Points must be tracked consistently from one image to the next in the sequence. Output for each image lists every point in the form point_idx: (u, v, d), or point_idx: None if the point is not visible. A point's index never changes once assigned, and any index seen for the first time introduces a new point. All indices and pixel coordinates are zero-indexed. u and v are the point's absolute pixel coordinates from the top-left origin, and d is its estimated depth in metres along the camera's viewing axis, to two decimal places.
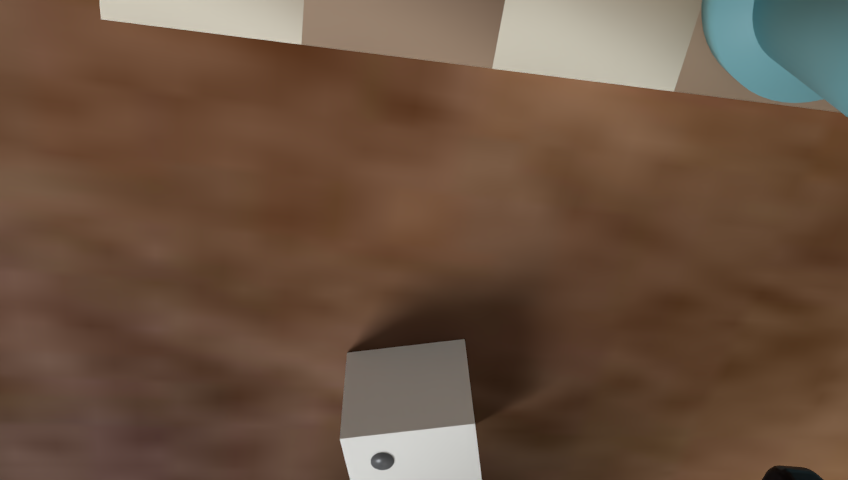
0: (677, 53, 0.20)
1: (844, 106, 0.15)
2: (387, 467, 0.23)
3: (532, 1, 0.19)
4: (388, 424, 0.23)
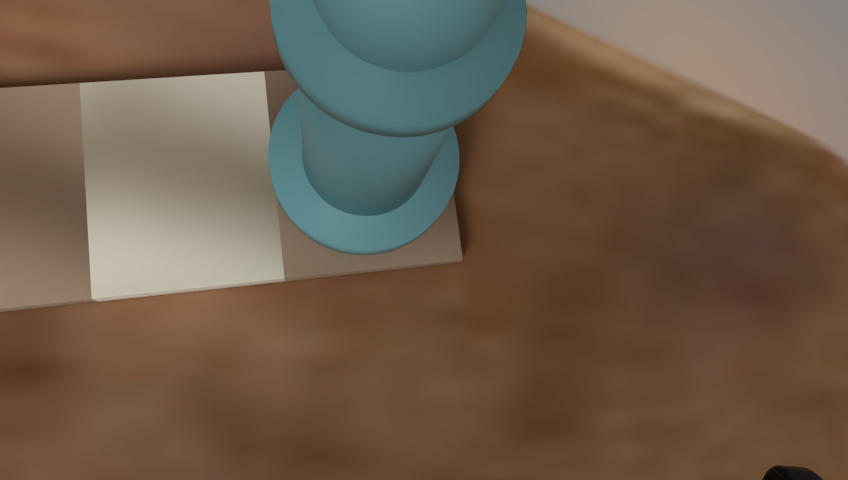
0: (272, 242, 0.21)
1: (326, 152, 0.16)
2: None
3: (114, 227, 0.20)
4: None
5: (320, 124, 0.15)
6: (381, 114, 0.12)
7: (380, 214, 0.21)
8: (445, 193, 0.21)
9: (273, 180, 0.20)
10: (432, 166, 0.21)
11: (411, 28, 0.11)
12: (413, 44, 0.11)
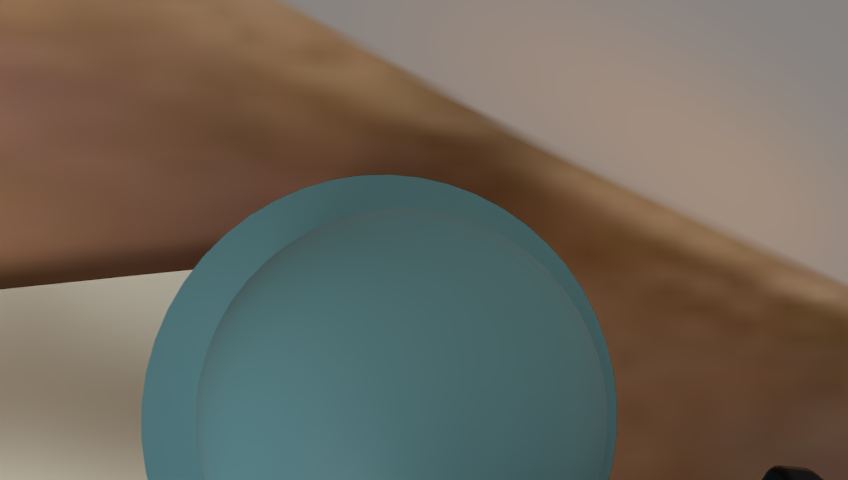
0: None
1: None
2: None
3: None
4: None
5: None
6: None
7: None
8: None
9: None
10: None
11: None
12: None
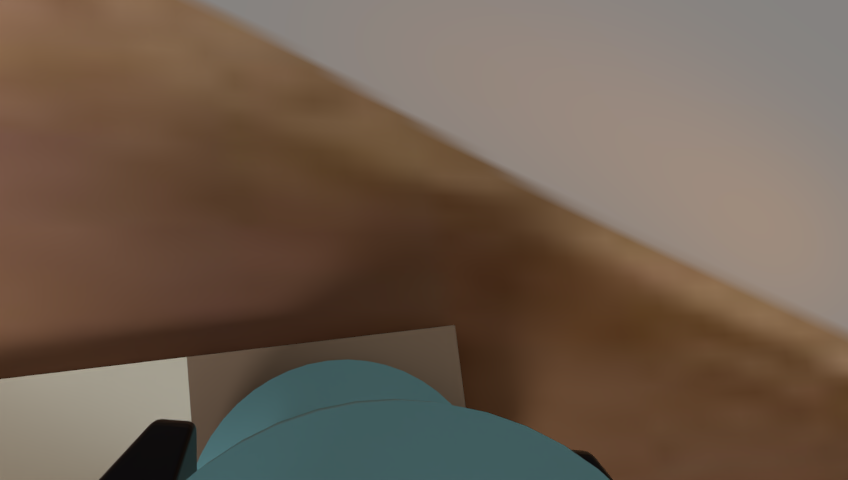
0: None
1: None
2: None
3: None
4: None
5: None
6: None
7: None
8: None
9: None
10: None
11: None
12: None
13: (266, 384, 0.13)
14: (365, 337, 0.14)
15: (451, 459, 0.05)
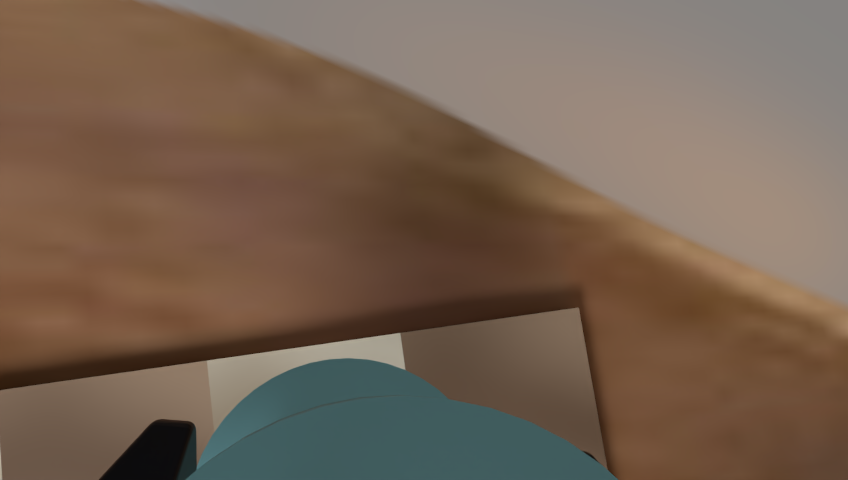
0: None
1: None
2: None
3: None
4: None
5: None
6: None
7: None
8: None
9: None
10: None
11: None
12: None
13: (268, 383, 0.13)
14: (518, 317, 0.21)
15: (455, 454, 0.05)
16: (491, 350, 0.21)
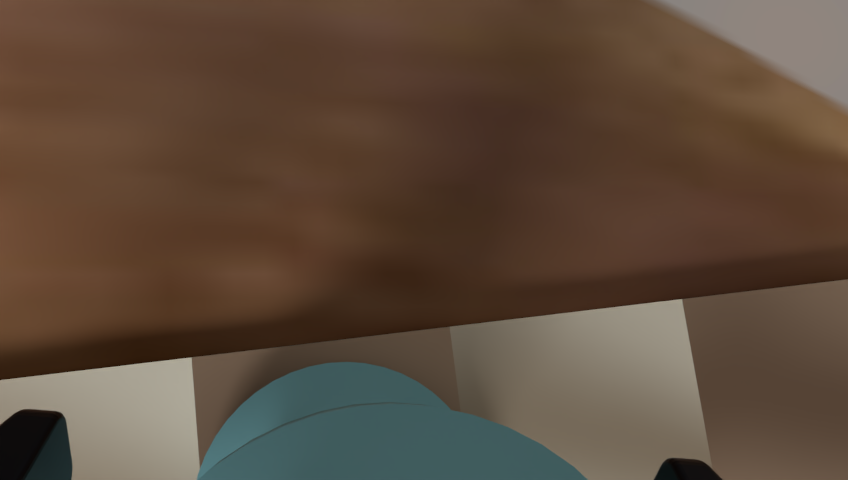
0: None
1: None
2: None
3: None
4: None
5: None
6: None
7: None
8: None
9: None
10: None
11: None
12: None
13: (269, 386, 0.14)
14: (820, 284, 0.17)
15: (440, 456, 0.05)
16: (791, 324, 0.16)
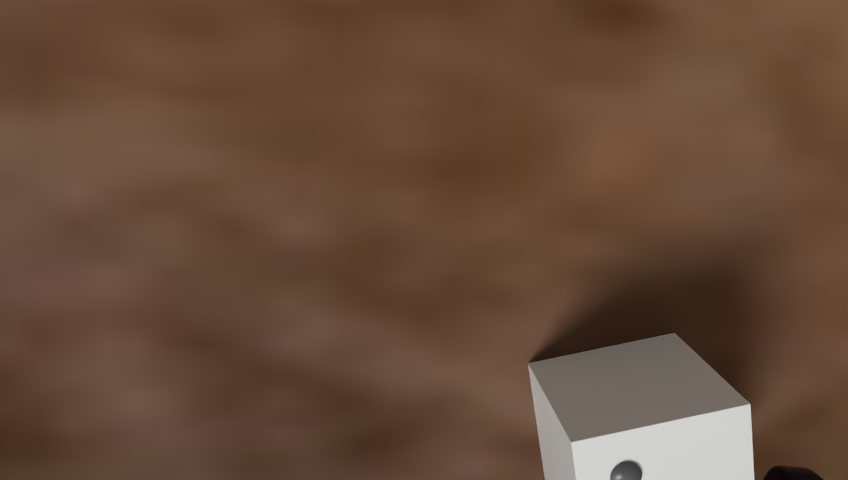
0: None
1: None
2: None
3: None
4: (630, 419, 0.17)
5: None
6: None
7: None
8: None
9: None
10: None
11: None
12: None
13: None
14: None
15: None
16: None
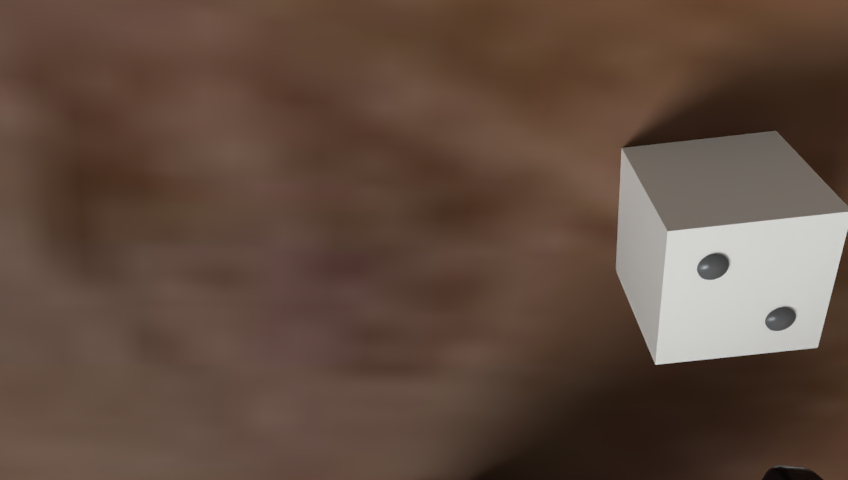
0: None
1: None
2: (715, 277, 0.17)
3: None
4: (727, 215, 0.17)
5: None
6: None
7: None
8: None
9: None
10: None
11: None
12: None
13: None
14: None
15: None
16: None
